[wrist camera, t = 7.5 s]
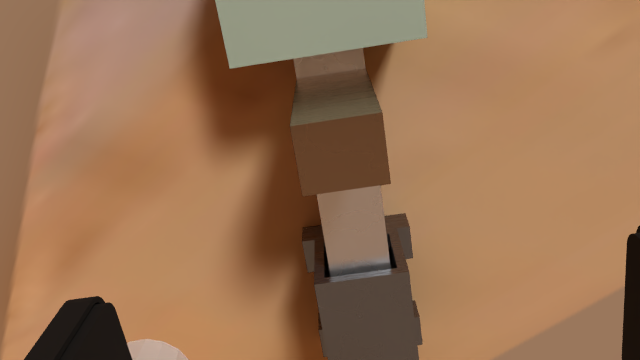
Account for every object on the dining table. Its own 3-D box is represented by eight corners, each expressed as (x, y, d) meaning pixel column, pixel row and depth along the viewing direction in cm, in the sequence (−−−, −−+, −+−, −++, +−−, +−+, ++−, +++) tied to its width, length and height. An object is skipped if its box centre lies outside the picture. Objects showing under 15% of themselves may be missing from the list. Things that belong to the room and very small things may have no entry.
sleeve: (405, 213, 34) (423, 269, 28) (417, 327, 37) (437, 399, 31) (302, 227, 34) (299, 286, 28) (323, 339, 37) (324, 413, 31)
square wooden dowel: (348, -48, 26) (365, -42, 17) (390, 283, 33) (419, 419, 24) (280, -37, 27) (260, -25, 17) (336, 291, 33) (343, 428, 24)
